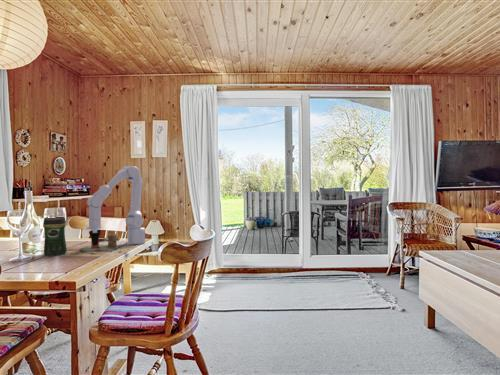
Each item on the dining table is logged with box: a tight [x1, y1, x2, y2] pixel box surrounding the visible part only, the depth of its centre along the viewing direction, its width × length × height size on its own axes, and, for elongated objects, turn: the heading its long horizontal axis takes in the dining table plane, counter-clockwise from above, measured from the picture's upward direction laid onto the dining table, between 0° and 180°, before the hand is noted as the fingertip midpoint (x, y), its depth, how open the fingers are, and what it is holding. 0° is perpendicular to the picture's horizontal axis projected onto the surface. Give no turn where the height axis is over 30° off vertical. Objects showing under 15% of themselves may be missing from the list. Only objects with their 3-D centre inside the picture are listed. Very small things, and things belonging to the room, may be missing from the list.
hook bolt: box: [90, 236, 121, 248], centre depth 181 cm, size 14×4×6 cm, turn 114°
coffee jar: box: [42, 216, 68, 257], centre depth 166 cm, size 10×8×19 cm
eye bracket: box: [81, 232, 119, 253], centre depth 180 cm, size 17×12×7 cm
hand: (95, 244), depth 179 cm, fingers closed on hook bolt, 4 cm apart
